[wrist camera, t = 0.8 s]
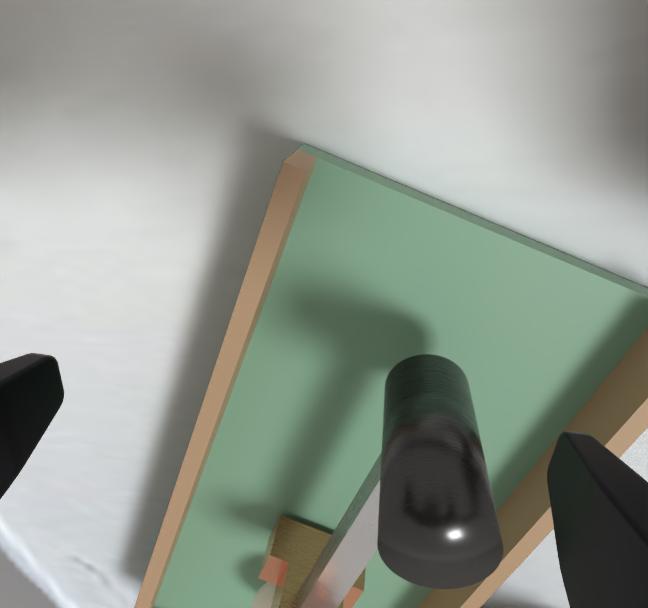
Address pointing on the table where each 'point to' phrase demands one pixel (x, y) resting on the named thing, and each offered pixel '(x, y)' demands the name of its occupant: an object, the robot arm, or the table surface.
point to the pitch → (373, 368)
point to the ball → (264, 596)
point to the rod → (402, 502)
